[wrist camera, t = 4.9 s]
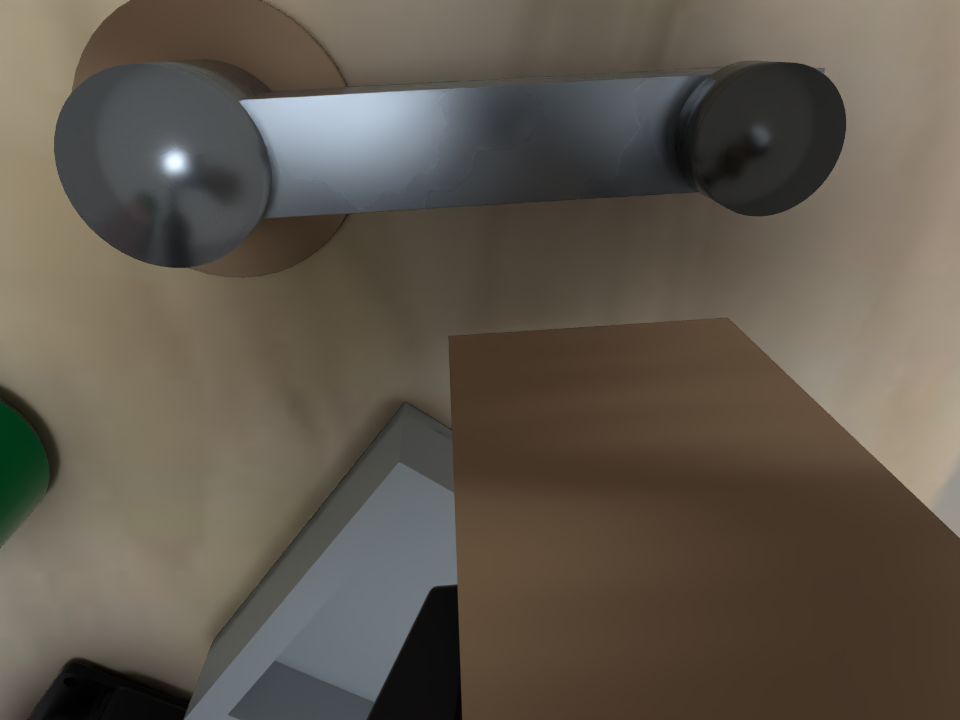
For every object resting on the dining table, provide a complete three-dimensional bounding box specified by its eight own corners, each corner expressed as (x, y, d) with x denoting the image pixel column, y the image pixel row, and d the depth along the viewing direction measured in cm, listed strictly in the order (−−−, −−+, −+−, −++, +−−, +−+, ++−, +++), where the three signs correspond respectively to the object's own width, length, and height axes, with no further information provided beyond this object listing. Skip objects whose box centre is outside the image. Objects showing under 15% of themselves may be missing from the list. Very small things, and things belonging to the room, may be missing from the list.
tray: (481, 752, 26) (486, 832, 24) (212, 640, 23) (182, 721, 20) (686, 572, 22) (720, 643, 20) (404, 401, 19) (399, 461, 16)
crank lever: (160, 228, 15) (73, 286, 12) (114, 63, 14) (-4, 71, 10) (742, 192, 16) (834, 237, 12) (765, 29, 14) (878, 24, 11)
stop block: (468, 593, 11) (520, 1560, 4) (448, 336, 9) (490, 1481, 2) (691, 576, 11) (1121, 1482, 4) (727, 318, 9) (1782, 1319, 2)
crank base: (642, 535, 22) (647, 548, 21) (41, 169, 15) (27, 174, 15) (785, 402, 20) (795, 412, 19) (159, -85, 13) (147, -90, 13)
